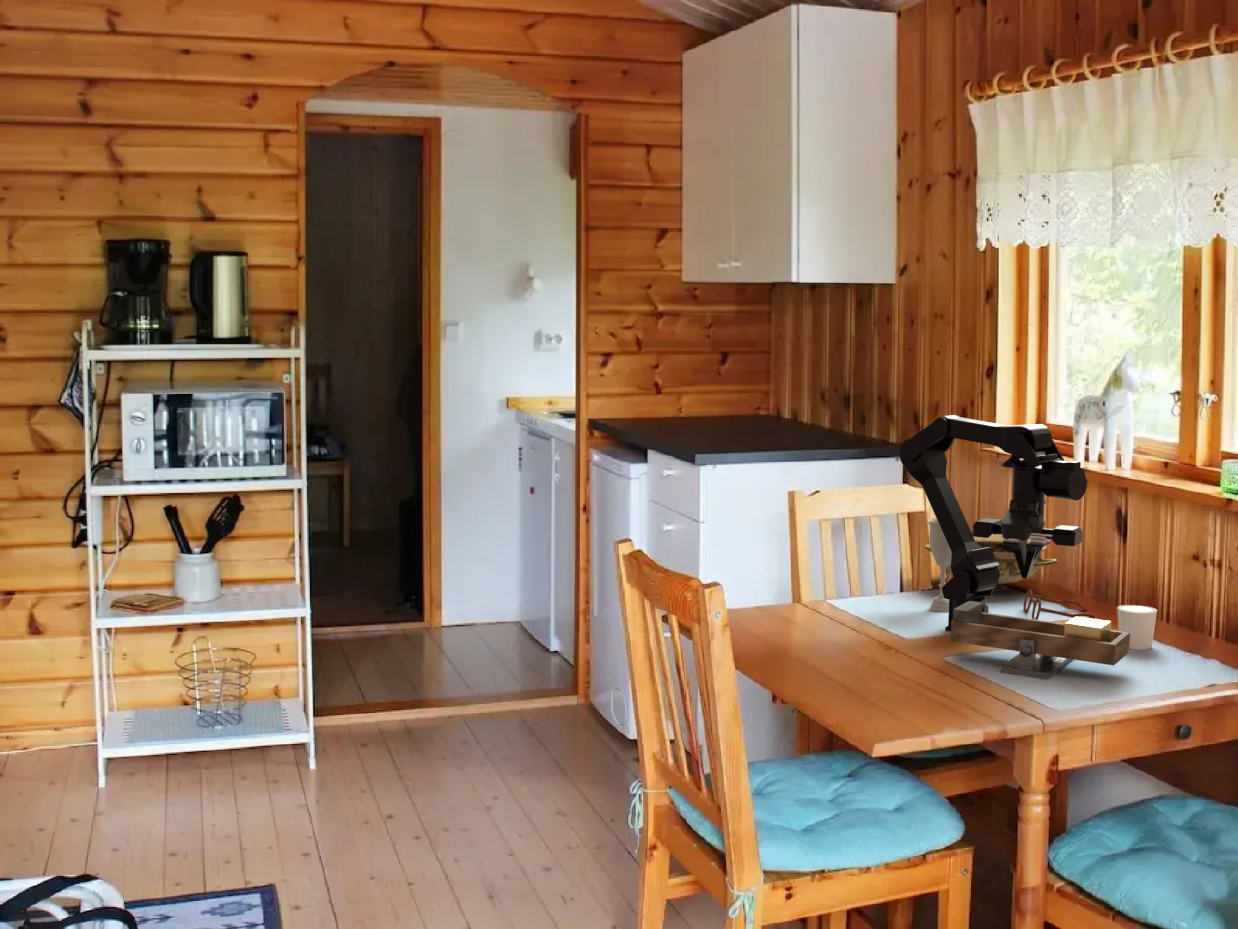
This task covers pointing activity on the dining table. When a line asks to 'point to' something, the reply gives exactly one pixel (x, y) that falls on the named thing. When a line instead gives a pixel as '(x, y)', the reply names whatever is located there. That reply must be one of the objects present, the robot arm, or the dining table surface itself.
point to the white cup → (1138, 625)
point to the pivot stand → (1033, 662)
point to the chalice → (939, 562)
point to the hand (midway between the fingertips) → (1025, 578)
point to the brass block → (1088, 629)
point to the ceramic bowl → (1005, 560)
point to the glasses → (1038, 600)
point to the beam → (1032, 636)
